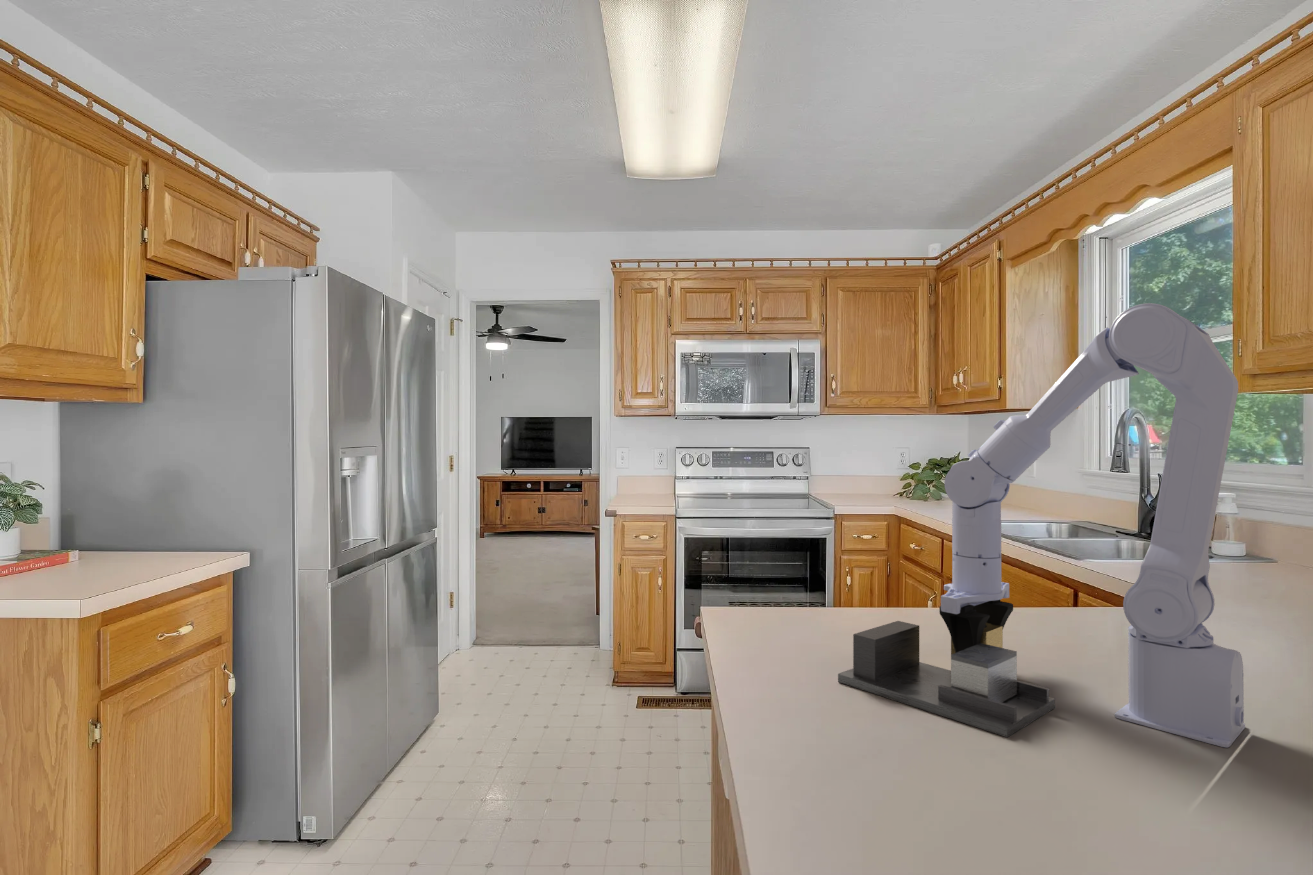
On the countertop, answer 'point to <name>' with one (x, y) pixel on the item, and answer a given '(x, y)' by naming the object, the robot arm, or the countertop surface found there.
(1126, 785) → the countertop surface
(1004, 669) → the block
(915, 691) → the press bed
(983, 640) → the housing
